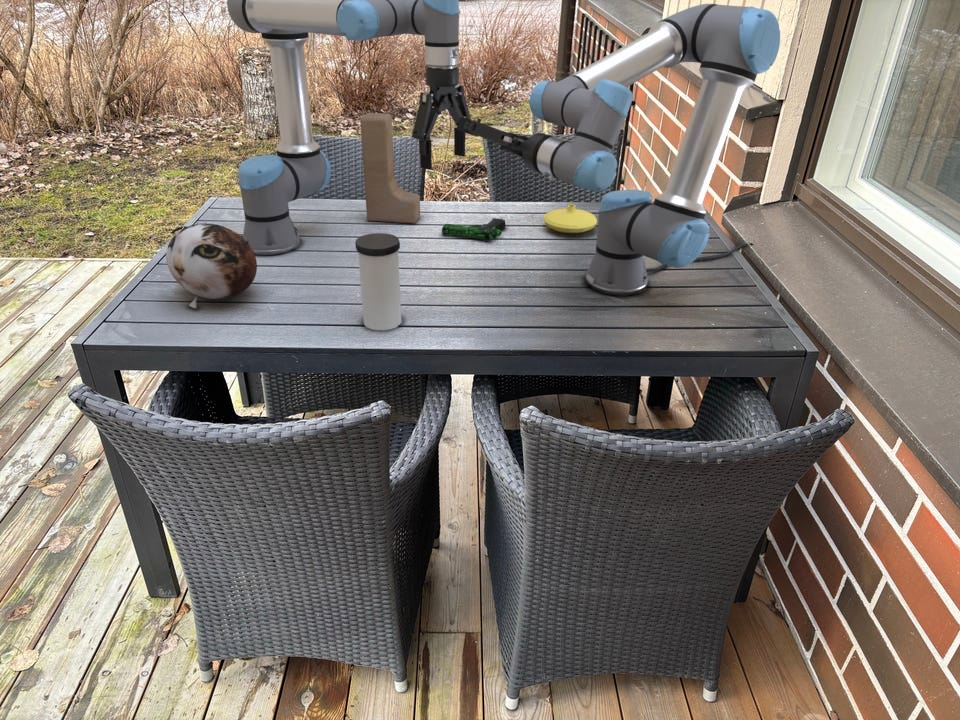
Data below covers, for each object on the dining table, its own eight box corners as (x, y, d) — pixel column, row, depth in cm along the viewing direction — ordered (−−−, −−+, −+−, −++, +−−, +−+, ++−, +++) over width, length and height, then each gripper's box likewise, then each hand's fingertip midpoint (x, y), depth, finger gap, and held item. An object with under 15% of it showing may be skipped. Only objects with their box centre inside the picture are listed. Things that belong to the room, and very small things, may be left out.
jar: (360, 315, 162) (354, 237, 152) (397, 311, 164) (393, 233, 154) (367, 332, 155) (360, 252, 145) (405, 327, 157) (401, 248, 147)
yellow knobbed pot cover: (559, 216, 220) (561, 193, 217) (605, 227, 212) (608, 204, 209) (532, 230, 209) (533, 207, 206) (580, 242, 201) (582, 218, 198)
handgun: (511, 219, 210) (493, 234, 198) (511, 228, 211) (492, 244, 199) (461, 212, 215) (440, 226, 203) (461, 221, 217) (440, 236, 204)
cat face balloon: (130, 285, 161) (164, 203, 163) (192, 308, 177) (221, 233, 178) (195, 307, 151) (229, 220, 152) (254, 330, 166) (285, 250, 168)
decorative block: (415, 224, 212) (412, 120, 197) (366, 221, 214) (359, 117, 199) (420, 215, 219) (417, 114, 203) (373, 212, 220) (366, 112, 205)
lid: (352, 242, 153) (352, 235, 152) (395, 238, 155) (394, 231, 155) (359, 258, 145) (359, 251, 145) (404, 253, 148) (403, 246, 147)
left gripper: (421, 75, 148) (424, 176, 159) (486, 61, 166) (485, 153, 177) (393, 71, 151) (397, 171, 162) (460, 58, 169) (460, 148, 180)
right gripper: (499, 155, 134) (433, 132, 148) (579, 189, 152) (513, 166, 166) (513, 116, 132) (446, 96, 146) (592, 155, 150) (525, 134, 164)
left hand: (443, 161), depth 169 cm, fingers open, 13 cm apart
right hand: (481, 133), depth 156 cm, fingers open, 13 cm apart
